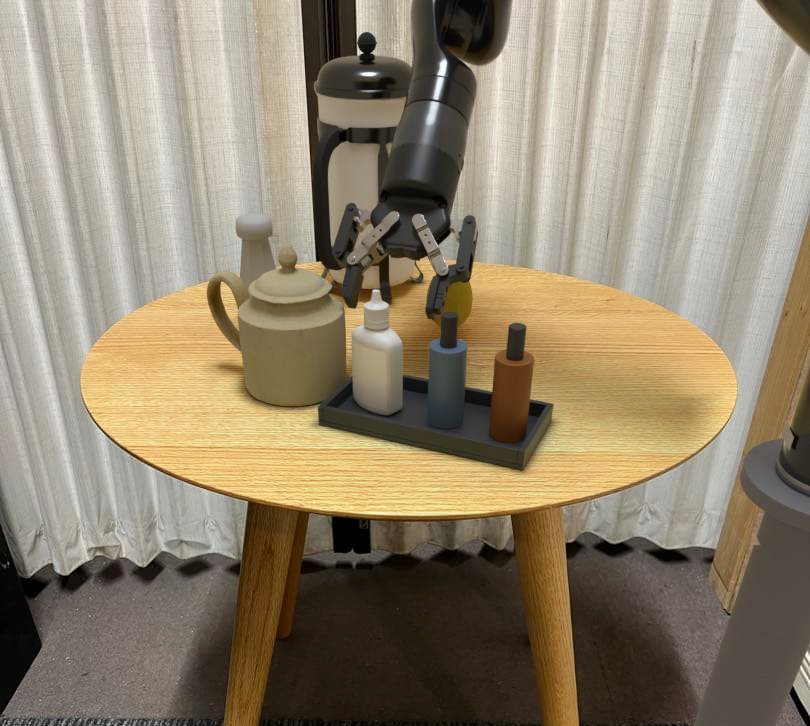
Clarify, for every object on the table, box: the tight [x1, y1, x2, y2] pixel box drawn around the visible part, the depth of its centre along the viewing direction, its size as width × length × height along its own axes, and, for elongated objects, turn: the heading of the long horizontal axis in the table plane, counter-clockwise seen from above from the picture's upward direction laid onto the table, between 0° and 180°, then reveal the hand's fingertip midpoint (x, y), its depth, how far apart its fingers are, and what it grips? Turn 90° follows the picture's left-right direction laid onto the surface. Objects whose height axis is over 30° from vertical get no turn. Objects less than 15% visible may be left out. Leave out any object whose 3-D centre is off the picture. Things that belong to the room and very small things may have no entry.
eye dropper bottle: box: [351, 289, 404, 415], centre depth 81 cm, size 4×6×12 cm
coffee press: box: [312, 31, 425, 305], centre depth 104 cm, size 17×16×30 cm
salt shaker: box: [234, 212, 277, 298], centre depth 99 cm, size 6×6×13 cm
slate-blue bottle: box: [427, 311, 468, 429], centre depth 79 cm, size 4×4×11 cm
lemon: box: [426, 274, 474, 328], centre depth 99 cm, size 6×6×8 cm
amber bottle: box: [489, 322, 535, 443], centre depth 77 cm, size 4×4×11 cm
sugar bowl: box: [206, 243, 347, 407], centre depth 85 cm, size 15×11×15 cm
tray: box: [317, 373, 555, 471], centre depth 82 cm, size 21×10×2 cm, turn 67°
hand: (389, 310), depth 83 cm, fingers open, 8 cm apart
